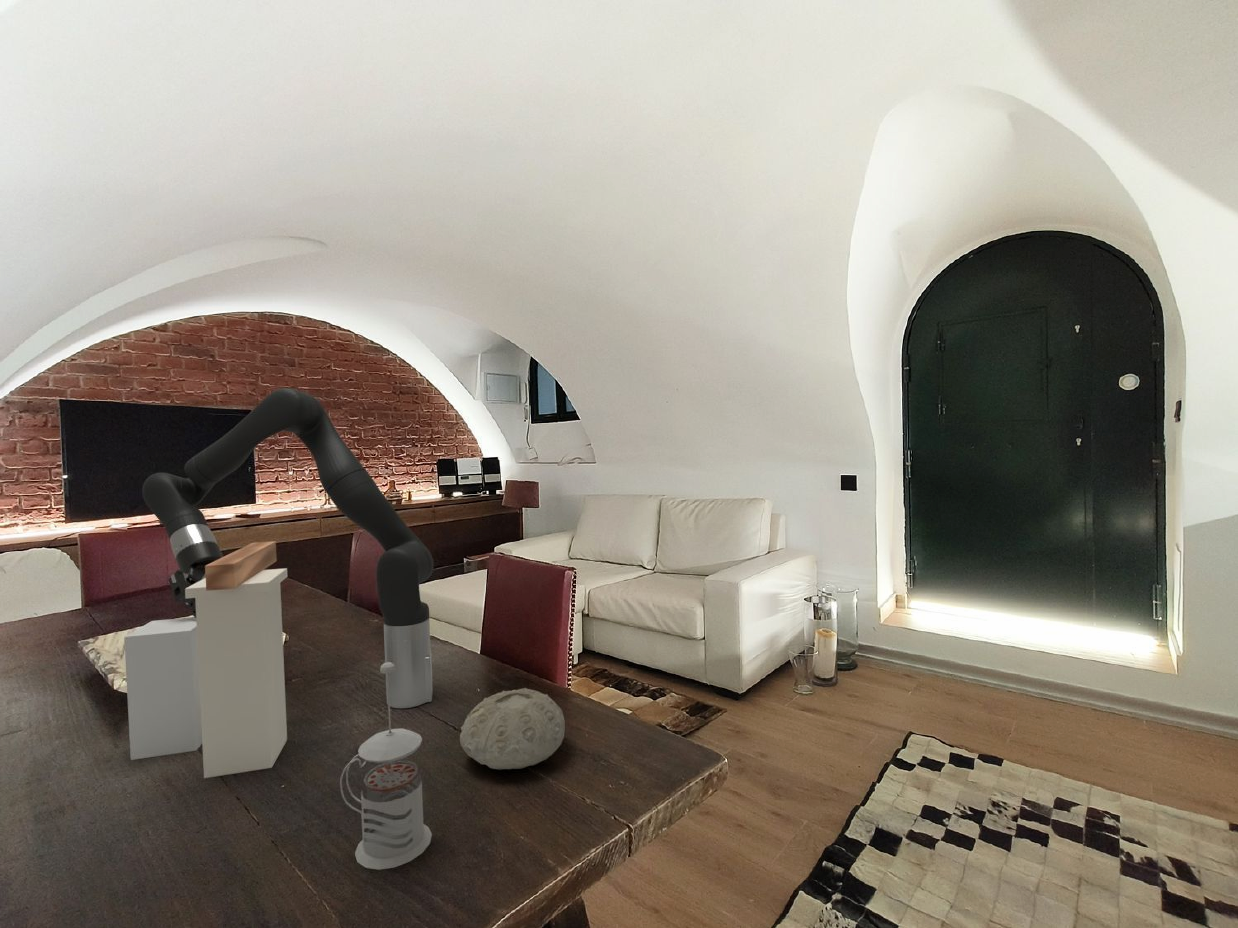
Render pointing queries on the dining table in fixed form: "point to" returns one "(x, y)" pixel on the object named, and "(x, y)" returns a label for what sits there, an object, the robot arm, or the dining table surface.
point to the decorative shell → (513, 729)
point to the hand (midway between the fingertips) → (224, 616)
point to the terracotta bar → (240, 566)
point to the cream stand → (241, 673)
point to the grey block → (163, 688)
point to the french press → (398, 828)
